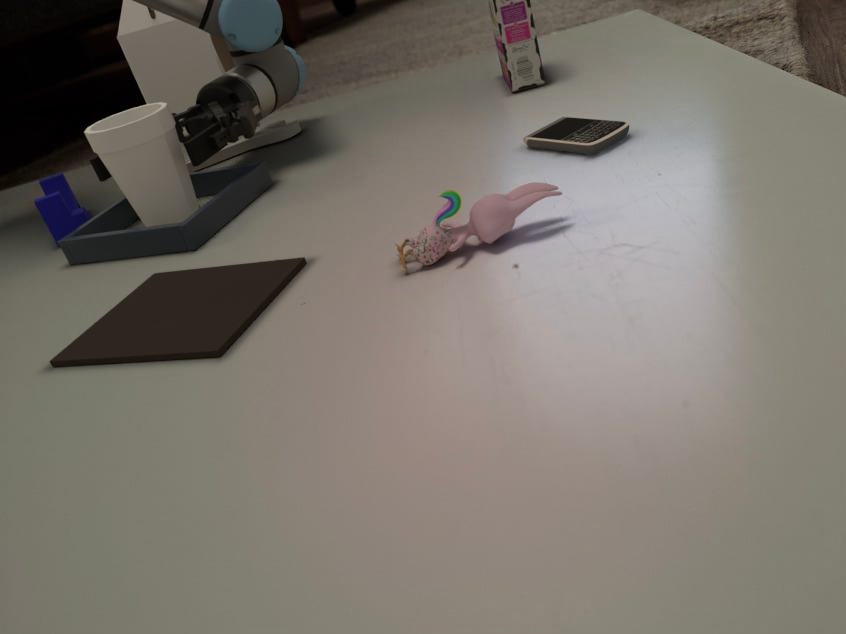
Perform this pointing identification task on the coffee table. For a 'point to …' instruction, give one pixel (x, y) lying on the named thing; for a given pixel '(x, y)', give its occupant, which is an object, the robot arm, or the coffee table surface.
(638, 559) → the coffee table surface
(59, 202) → the cable clip
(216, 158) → the adjustable wrench
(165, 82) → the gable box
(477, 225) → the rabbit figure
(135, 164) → the foam cup
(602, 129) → the cell phone
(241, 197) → the tray
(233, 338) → the mat
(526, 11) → the candy bar box
